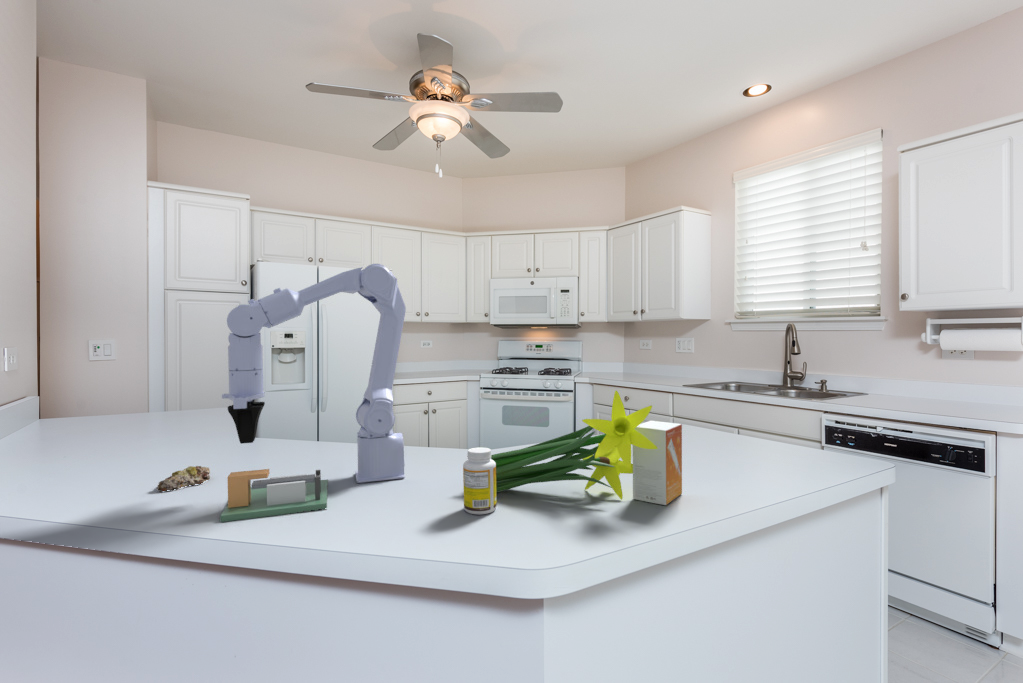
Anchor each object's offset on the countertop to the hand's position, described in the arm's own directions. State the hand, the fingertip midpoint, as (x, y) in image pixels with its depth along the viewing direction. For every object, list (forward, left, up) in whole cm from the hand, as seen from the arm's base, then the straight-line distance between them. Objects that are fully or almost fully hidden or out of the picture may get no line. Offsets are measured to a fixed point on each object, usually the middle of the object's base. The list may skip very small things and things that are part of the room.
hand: (247, 442), depth 94 cm
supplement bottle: (-39, +24, -10) cm, 46 cm away
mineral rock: (+14, -12, -10) cm, 21 cm away
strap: (-7, +9, -6) cm, 13 cm away
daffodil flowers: (-54, +23, -10) cm, 59 cm away
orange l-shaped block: (-2, +9, -9) cm, 13 cm away
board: (-6, +7, -10) cm, 13 cm away
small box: (-70, +29, -10) cm, 77 cm away
